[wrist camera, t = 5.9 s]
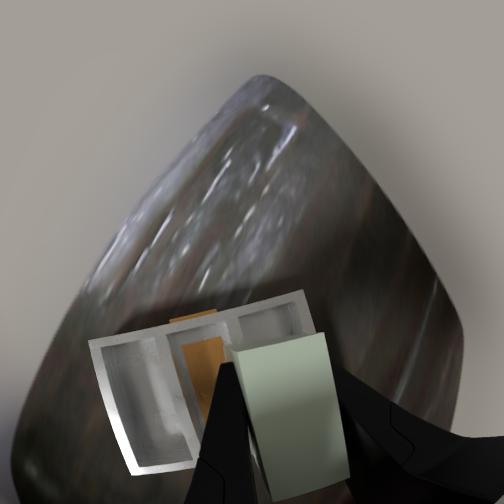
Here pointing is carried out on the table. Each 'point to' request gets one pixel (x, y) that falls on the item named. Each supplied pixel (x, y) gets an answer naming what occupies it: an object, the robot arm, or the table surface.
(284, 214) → the table surface
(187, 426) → the rack
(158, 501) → the table surface
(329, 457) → the pale green rectangular block
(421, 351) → the table surface
